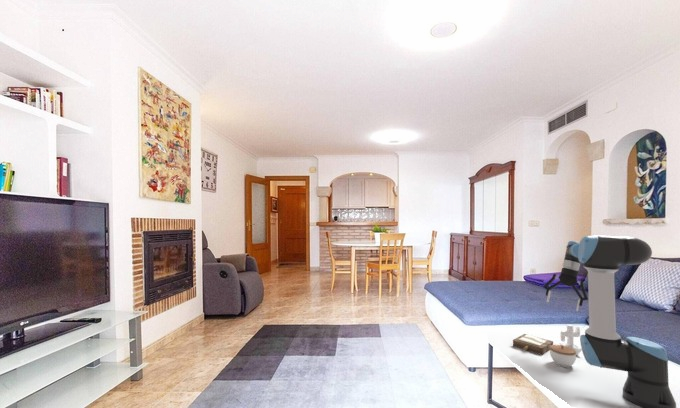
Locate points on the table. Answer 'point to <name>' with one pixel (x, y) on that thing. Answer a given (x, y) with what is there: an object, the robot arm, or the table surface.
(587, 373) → the table surface
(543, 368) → the table surface
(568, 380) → the table surface
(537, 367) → the table surface
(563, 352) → the lidded jar
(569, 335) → the figurine
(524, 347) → the wooden box
